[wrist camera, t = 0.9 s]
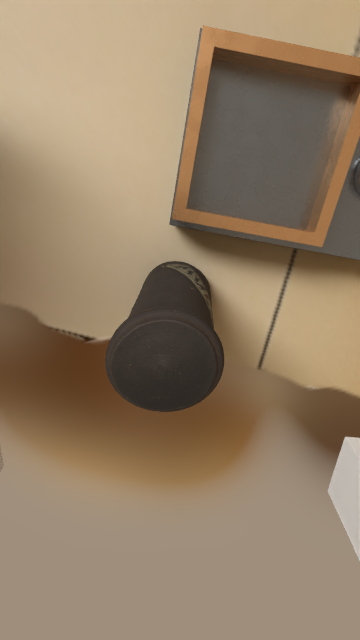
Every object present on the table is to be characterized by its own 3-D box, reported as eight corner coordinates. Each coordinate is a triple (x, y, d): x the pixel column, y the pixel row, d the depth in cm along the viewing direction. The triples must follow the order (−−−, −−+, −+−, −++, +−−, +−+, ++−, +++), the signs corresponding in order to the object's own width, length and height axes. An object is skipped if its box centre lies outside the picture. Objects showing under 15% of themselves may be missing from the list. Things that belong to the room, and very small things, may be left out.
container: (215, 317, 42) (232, 413, 24) (149, 327, 43) (116, 427, 25) (205, 252, 39) (217, 304, 21) (135, 265, 40) (84, 325, 22)
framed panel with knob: (171, 221, 38) (167, 226, 32) (199, 47, 32) (201, 12, 26) (366, 258, 39) (398, 269, 33) (430, 94, 33) (484, 70, 27)
